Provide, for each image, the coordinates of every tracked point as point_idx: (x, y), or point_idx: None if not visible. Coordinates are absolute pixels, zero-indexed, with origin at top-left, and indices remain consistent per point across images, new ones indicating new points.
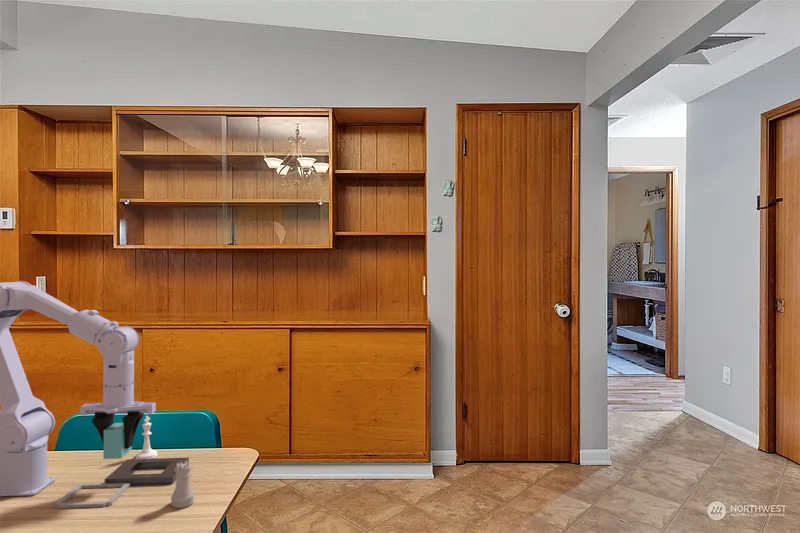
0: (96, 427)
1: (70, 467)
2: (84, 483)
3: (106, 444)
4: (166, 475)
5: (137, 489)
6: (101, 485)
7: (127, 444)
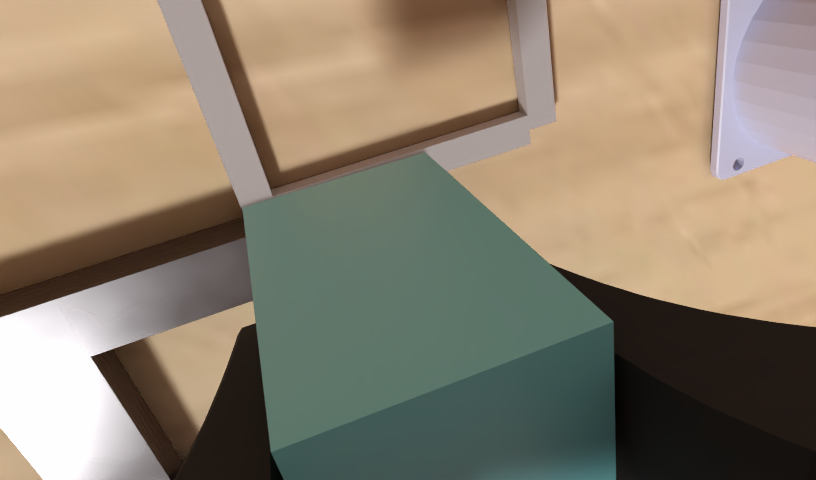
0: (779, 326)
1: (709, 303)
2: (529, 142)
3: (456, 224)
4: (11, 343)
5: (146, 176)
6: (415, 148)
7: (238, 351)
